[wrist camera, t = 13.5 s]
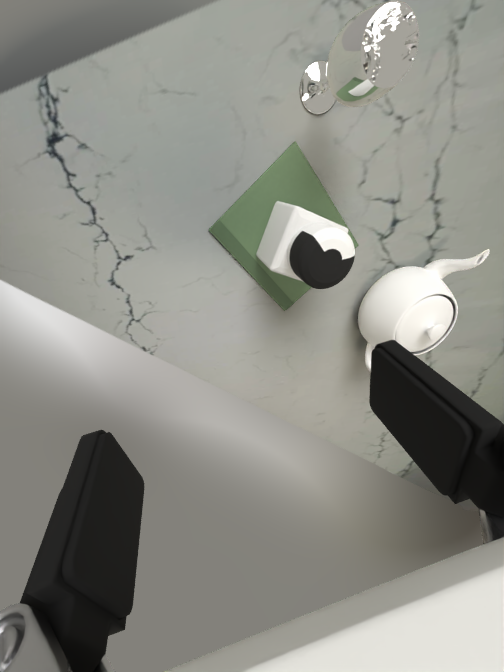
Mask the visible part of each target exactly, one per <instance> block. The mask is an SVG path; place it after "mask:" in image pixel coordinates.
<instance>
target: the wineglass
mask: <svg viewBox="0 0 504 672" xmlns="http://www.w3.org/2000/svg"><path fill="white" fill-rule="evenodd" d="M418 43H419V27H418V22H417V19H416V16H415V13H414V12H413V10H412V9H411V7H410V6H409V5H407V4H406V3H405V2H402V1H399V0H393V1H387V2H383V3H379V4H376V5H374V6H371V7H369V8H367V9H365V10H363V11H362V12H360V13H358V14H357V15H356V16H354V17H353V18H352V19H351V20H349V21H348V22H347V23H346V24H345V26H344V27H343V28H342V29H341V31H340V32H339V34H338V35H337V37H336V38H335V40H334V42H333V44H332V46H331V49H330V52H329V55H328V60H327V62H326V61H321V60H320V61H316V62H313V63H312V64H311V65H309V66H308V68H307V69H306V70H305V72H304V74H303V76H302V79H301V84H300V95H301V100H302V103H303V105H304V106H305V108H306V109H307V110H308V111H309V112H311V113H313V114H323V113H325V112H326V111H328V110H329V109H330V108H331V107H332V106H333V104H334V102H335V100H337V101H338V102H339V103H340V104H342V105H345V106H347V107H362V106H365V105H368V104H370V103H372V102H374V101H376V100H378V99H380V98H381V97H383V96H384V95H385V94H386V93H388V92H389V91H390V90H391V89H393V88H394V87H395V86H396V85H397V84H398V83H399V82H400V81H401V80H402V79H403V78H404V77H405V76H406V74H407V73H408V72H409V70H410V68H411V66H412V65H413V62H414V60H415V57H416V54H417V49H418Z"/></svg>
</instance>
